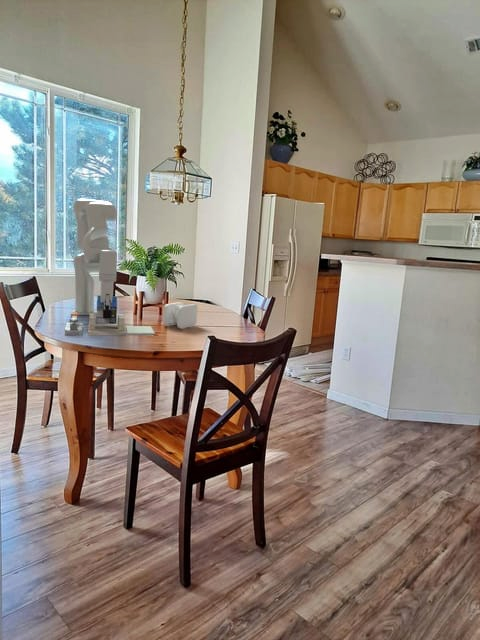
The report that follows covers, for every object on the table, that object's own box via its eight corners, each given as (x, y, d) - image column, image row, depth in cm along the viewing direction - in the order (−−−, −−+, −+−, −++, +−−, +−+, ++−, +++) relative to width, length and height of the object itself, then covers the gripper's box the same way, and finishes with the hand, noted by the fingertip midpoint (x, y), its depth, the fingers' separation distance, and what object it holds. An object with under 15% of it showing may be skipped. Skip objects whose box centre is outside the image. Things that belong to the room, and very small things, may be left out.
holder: (88, 326, 212) (88, 312, 210) (123, 327, 217) (123, 312, 215) (88, 335, 197) (88, 319, 195) (125, 335, 202) (126, 319, 201)
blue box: (95, 323, 204) (96, 296, 201) (96, 321, 207) (96, 295, 205) (116, 324, 206) (117, 297, 204) (116, 322, 210) (117, 296, 207)
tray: (125, 327, 216) (125, 326, 216) (150, 327, 220) (150, 326, 220) (127, 334, 203) (127, 332, 203) (154, 334, 207) (154, 333, 207)
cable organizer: (178, 330, 220) (179, 307, 217) (161, 326, 225) (162, 303, 223) (196, 326, 232) (198, 304, 230) (180, 322, 237) (181, 301, 235)
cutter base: (66, 326, 208) (66, 318, 207) (82, 327, 210) (82, 318, 210) (64, 334, 194) (64, 325, 193) (82, 334, 196) (82, 325, 196)
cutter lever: (71, 320, 210) (71, 312, 209) (78, 320, 211) (78, 312, 210) (69, 327, 196) (69, 318, 195) (77, 327, 197) (77, 318, 196)
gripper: (98, 274, 209) (97, 313, 213) (99, 279, 193) (98, 321, 197) (115, 275, 211) (114, 313, 215) (117, 280, 196) (115, 321, 200)
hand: (106, 316), depth 206 cm, fingers closed on blue box, 4 cm apart
